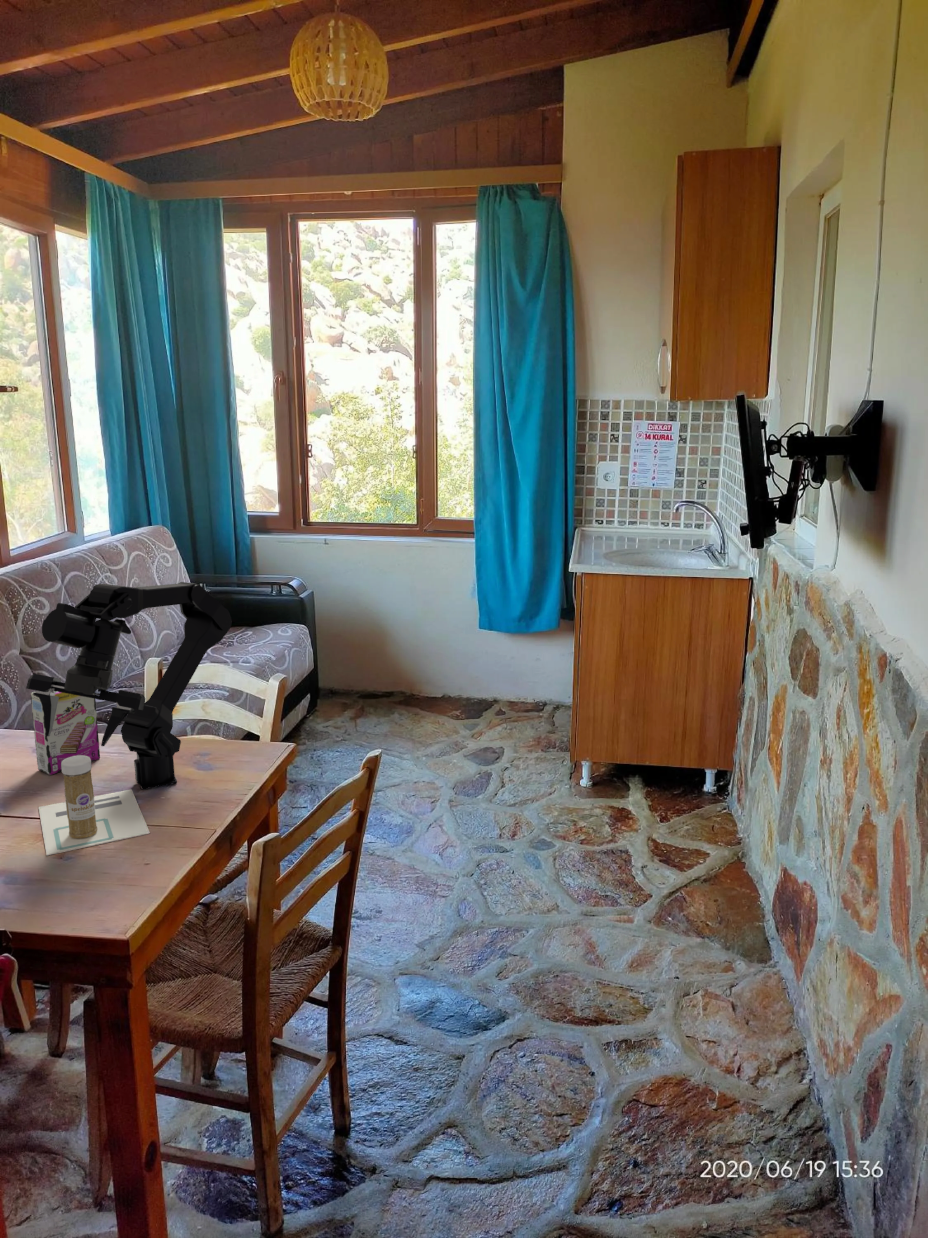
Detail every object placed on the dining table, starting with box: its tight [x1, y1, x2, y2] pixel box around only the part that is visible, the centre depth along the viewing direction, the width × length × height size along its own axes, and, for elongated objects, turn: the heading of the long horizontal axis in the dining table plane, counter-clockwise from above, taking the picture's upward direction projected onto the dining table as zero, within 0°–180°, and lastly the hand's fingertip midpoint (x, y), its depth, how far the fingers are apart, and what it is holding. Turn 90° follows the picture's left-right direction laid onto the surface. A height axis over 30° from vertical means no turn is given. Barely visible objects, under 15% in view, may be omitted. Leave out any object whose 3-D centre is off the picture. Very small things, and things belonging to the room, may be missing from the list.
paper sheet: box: [38, 789, 151, 857], centre depth 153 cm, size 16×20×1 cm
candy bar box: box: [30, 692, 101, 776], centre depth 175 cm, size 11×5×16 cm, turn 144°
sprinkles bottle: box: [61, 755, 97, 838], centre depth 146 cm, size 5×5×14 cm
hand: (75, 741), depth 151 cm, fingers open, 9 cm apart
